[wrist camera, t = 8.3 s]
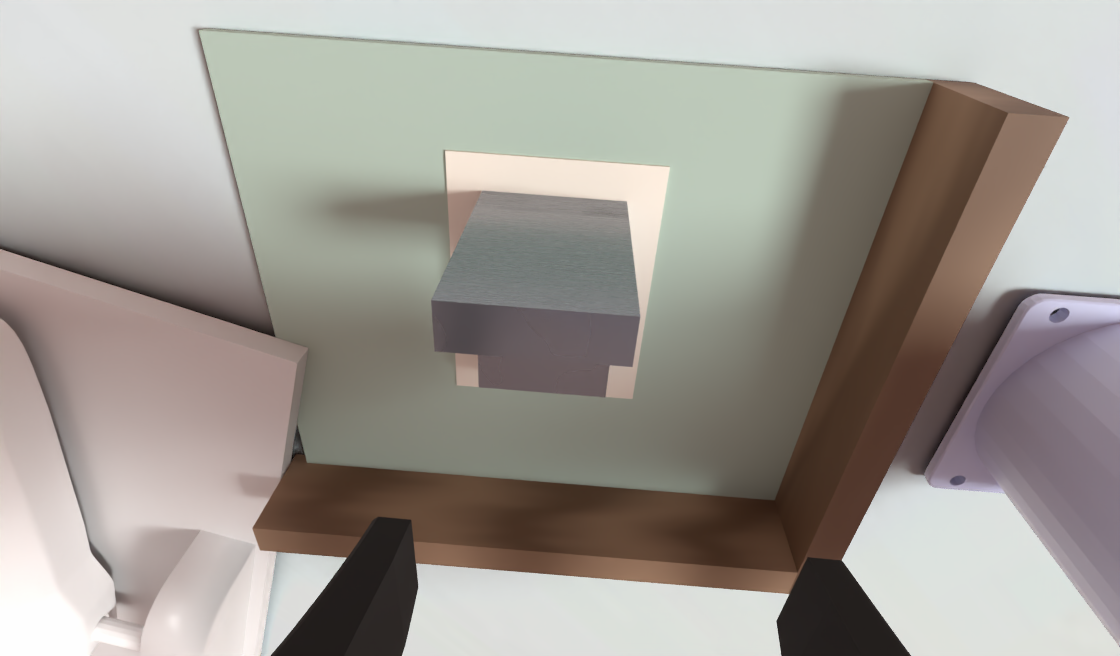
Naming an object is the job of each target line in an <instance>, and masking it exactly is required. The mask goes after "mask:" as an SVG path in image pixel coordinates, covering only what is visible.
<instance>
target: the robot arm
mask: <svg viewBox="0 0 1120 656" xmlns="http://www.w3.org/2000/svg"><path fill="white" fill-rule="evenodd" d="M1058 308H1060V309H1059V310H1058V311H1057V312H1056V313H1055V314H1053V315H1050V314H1051V313H1052V312H1053V311H1054V310H1056V309H1058ZM924 476H925V478H926V480H927V482H928V483H929V485H931V486H932V487H935V488H944V489H957V490H969V491H982V492H994V493H1005V494H1006V495H1007V496H1008V498H1009V499H1010V500H1011V502H1012V503H1013V504H1014V506H1015V507H1016V509H1017V510H1018V511H1019V513H1020V514H1021V515H1022V517H1023V518H1024V519H1025V521H1026V522H1027V523H1028V525H1029V526H1030V527H1031V529H1032V530H1033V531H1034V533H1035V534H1036V535H1037V537H1038V538H1039V539H1040V541H1041V542H1042V543H1043V545H1044V546H1045V547H1046V549H1047V550H1048V551H1049V553H1050V554H1051V555H1052V557H1053V558H1054V559H1055V561H1056V562H1057V564H1058V565H1059V566H1060V568H1061V569H1062V570H1063V572H1064V573H1065V574H1066V576H1067V577H1068V578H1069V580H1070V581H1071V582H1072V584H1073V585H1074V586H1075V588H1076V589H1077V590H1078V592H1079V593H1080V594H1081V596H1082V597H1083V598H1084V600H1085V601H1086V602H1087V604H1088V605H1089V606H1090V608H1091V609H1092V610H1093V612H1094V613H1095V615H1096V616H1097V617H1098V619H1099V620H1100V621H1101V623H1102V624H1103V625H1104V627H1105V628H1106V629H1107V631H1108V632H1109V633H1110V635H1111V636H1112V637H1113V639H1114V640H1115V641H1116V643H1117V644H1118V645H1119V647H1120V299H1109V298H1096V297H1083V296H1070V295H1056V294H1035V295H1032V296H1030V297H1028V298H1026V299H1025V300H1023V301H1022V302H1021V304H1020V305H1019V306H1018V307H1017V309H1016V311H1015V313H1014V315H1013V316H1012V318H1011V320H1010V322H1009V323H1008V325H1007V327H1006V329H1005V330H1004V332H1003V334H1002V336H1001V338H1000V339H999V341H998V343H997V345H996V346H995V348H994V350H993V352H992V353H991V355H990V357H989V359H988V361H987V362H986V364H985V366H984V368H983V369H982V371H981V373H980V375H979V377H978V378H977V380H976V382H975V384H974V385H973V387H972V389H971V391H970V392H969V394H968V396H967V398H966V400H965V401H964V403H963V405H962V407H961V408H960V410H959V412H958V414H957V415H956V417H955V419H954V421H953V423H952V424H951V426H950V428H949V430H948V431H947V433H946V435H945V437H944V438H943V440H942V442H941V444H940V446H939V447H938V449H937V451H936V453H935V454H934V456H933V458H932V460H931V461H930V463H929V465H928V467H927V469H926V470H925V473H924ZM417 590H418V580H417V570H416V560H415V550H414V540H413V531H412V521H411V520H409V519H398V518H388V517H377V518H375V519H374V520H372V522H371V524H370V525H369V527H368V528H367V530H366V531H365V533H364V534H363V536H362V537H361V539H360V540H359V542H358V543H357V545H356V546H355V547H354V549H353V550H352V552H351V553H350V555H349V556H348V557H347V559H346V560H345V562H344V563H343V564H342V566H341V567H340V569H339V570H338V571H337V573H336V574H335V575H334V577H333V578H332V579H331V581H330V582H329V583H328V585H327V586H326V587H325V589H324V590H323V591H322V593H321V594H320V595H319V597H318V598H317V599H316V600H315V602H314V603H313V604H312V605H311V607H310V608H309V609H308V611H307V612H306V613H305V614H304V616H303V617H302V618H301V619H300V621H299V622H298V623H297V625H296V626H295V627H294V628H293V630H292V631H291V632H290V633H289V635H288V636H287V637H286V638H285V639H284V641H283V642H282V643H281V644H280V645H279V646H278V648H277V649H276V650H275V651H274V652H273V653H272V655H271V656H402V653H403V650H404V647H405V643H406V639H407V635H408V631H409V626H410V622H411V618H412V613H413V609H414V604H415V599H416V595H417ZM777 628H778V635H779V641H780V648H781V655H782V656H911V655H910V654H909V652H908V651H907V650H906V648H905V647H904V646H903V644H902V643H901V642H900V640H899V639H898V637H897V636H896V635H895V633H894V632H893V631H892V629H891V628H890V627H889V625H888V624H887V622H886V621H885V620H884V618H883V617H882V616H881V614H880V613H879V611H878V610H877V609H876V607H875V606H874V604H873V603H872V602H871V600H870V599H869V597H868V596H867V595H866V593H865V592H864V590H863V589H862V588H861V586H860V585H859V584H858V582H857V581H856V579H855V578H854V577H853V575H852V574H851V572H850V571H849V570H848V568H847V567H846V566H845V564H844V563H843V562H842V560H832V559H822V558H811V557H807V559H806V561H805V563H804V566H803V568H802V570H801V572H800V574H799V576H798V578H797V580H796V582H795V584H794V586H793V588H792V590H791V592H790V594H789V597H788V599H787V601H786V603H785V605H784V607H783V609H782V611H781V613H780V615H779V617H778V619H777Z"/></svg>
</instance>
